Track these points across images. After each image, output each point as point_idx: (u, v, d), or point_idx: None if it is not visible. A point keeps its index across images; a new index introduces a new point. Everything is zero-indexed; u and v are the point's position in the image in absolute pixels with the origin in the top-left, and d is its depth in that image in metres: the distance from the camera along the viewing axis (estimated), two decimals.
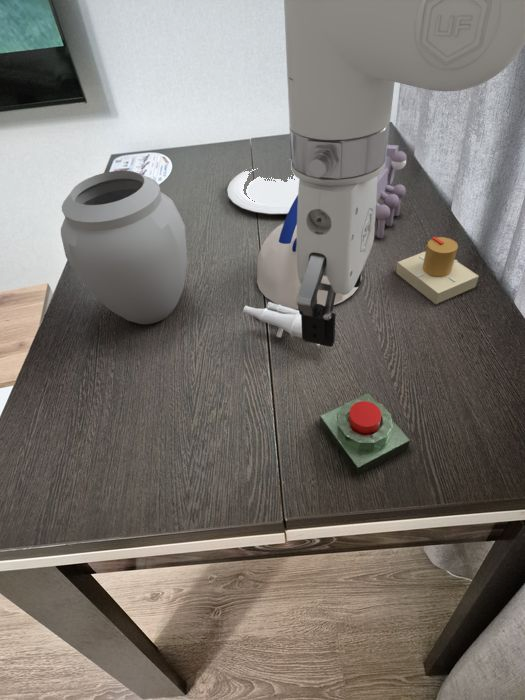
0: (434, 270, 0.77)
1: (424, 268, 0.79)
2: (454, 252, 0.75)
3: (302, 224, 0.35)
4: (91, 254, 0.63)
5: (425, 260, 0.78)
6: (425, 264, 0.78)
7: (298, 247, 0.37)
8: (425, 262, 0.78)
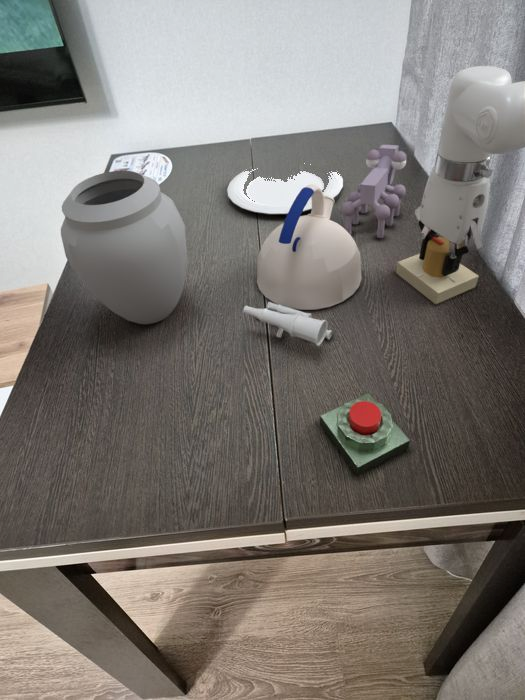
0: (434, 270, 0.77)
1: (424, 268, 0.79)
2: None
3: (470, 206, 0.66)
4: (91, 254, 0.63)
5: (425, 260, 0.78)
6: (425, 264, 0.78)
7: (465, 220, 0.67)
8: (425, 262, 0.78)
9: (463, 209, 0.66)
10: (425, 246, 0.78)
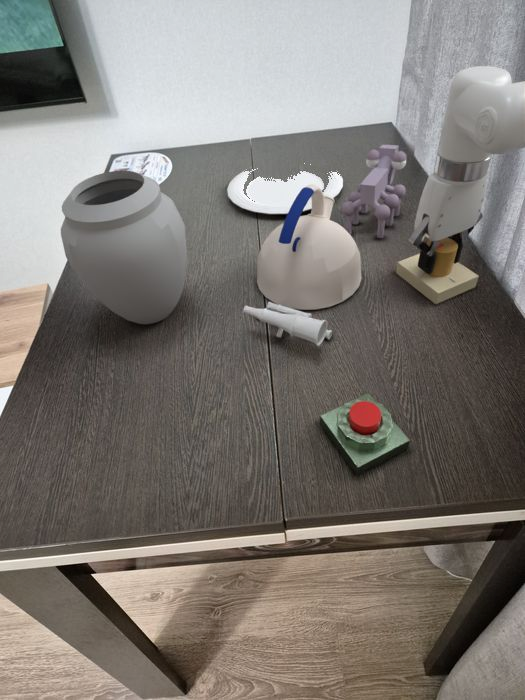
0: (452, 266, 0.78)
1: (444, 273, 0.77)
2: None
3: None
4: (91, 254, 0.63)
5: (444, 266, 0.76)
6: (445, 269, 0.77)
7: (483, 200, 0.71)
8: (445, 268, 0.76)
9: (484, 192, 0.69)
10: (434, 258, 0.75)
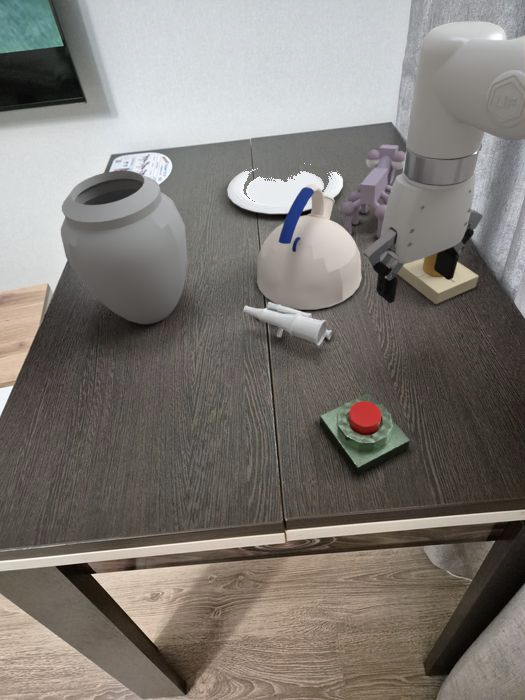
0: None
1: None
2: None
3: None
4: (91, 254, 0.63)
5: None
6: None
7: None
8: None
9: (471, 200, 0.51)
10: None
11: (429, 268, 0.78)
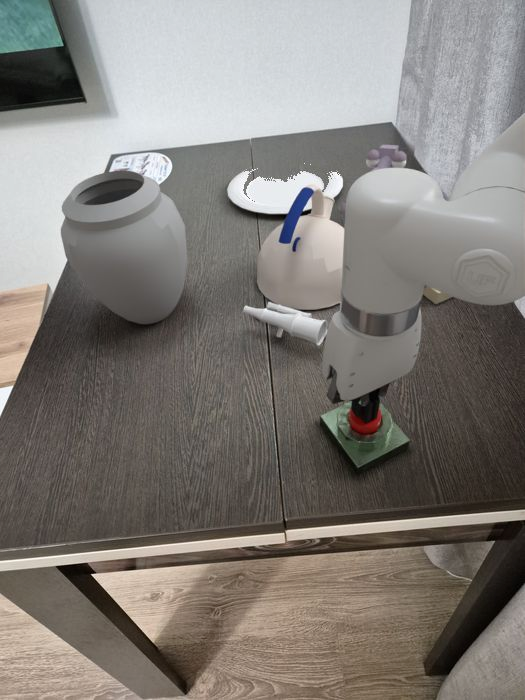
0: None
1: None
2: None
3: None
4: (91, 254, 0.63)
5: None
6: None
7: None
8: None
9: (419, 335, 0.46)
10: None
11: None
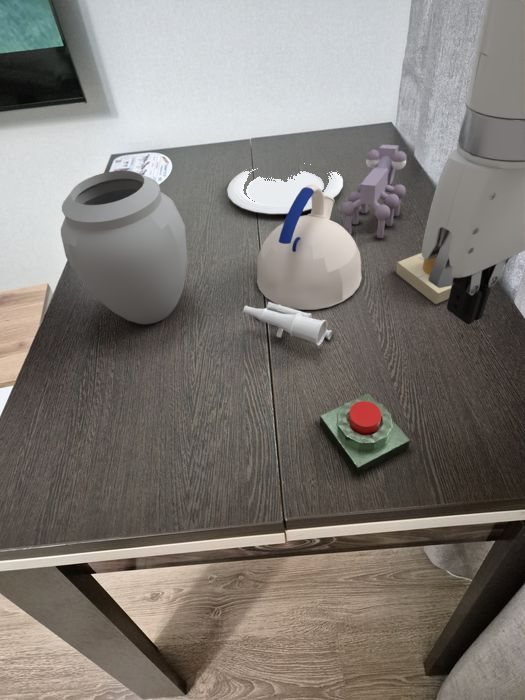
0: None
1: None
2: None
3: None
4: (91, 254, 0.63)
5: None
6: None
7: None
8: None
9: None
10: None
11: (429, 268, 0.78)
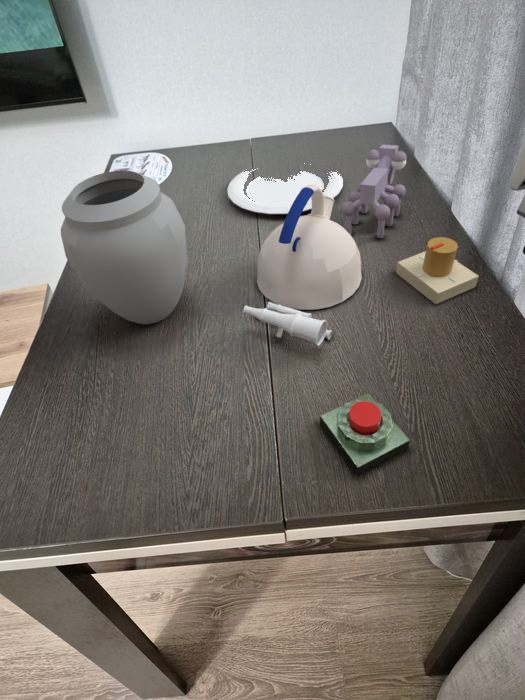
0: (452, 266, 0.78)
1: (444, 273, 0.77)
2: None
3: None
4: (91, 254, 0.63)
5: (444, 266, 0.76)
6: (445, 269, 0.77)
7: None
8: (445, 268, 0.76)
9: None
10: None
11: (429, 268, 0.78)
